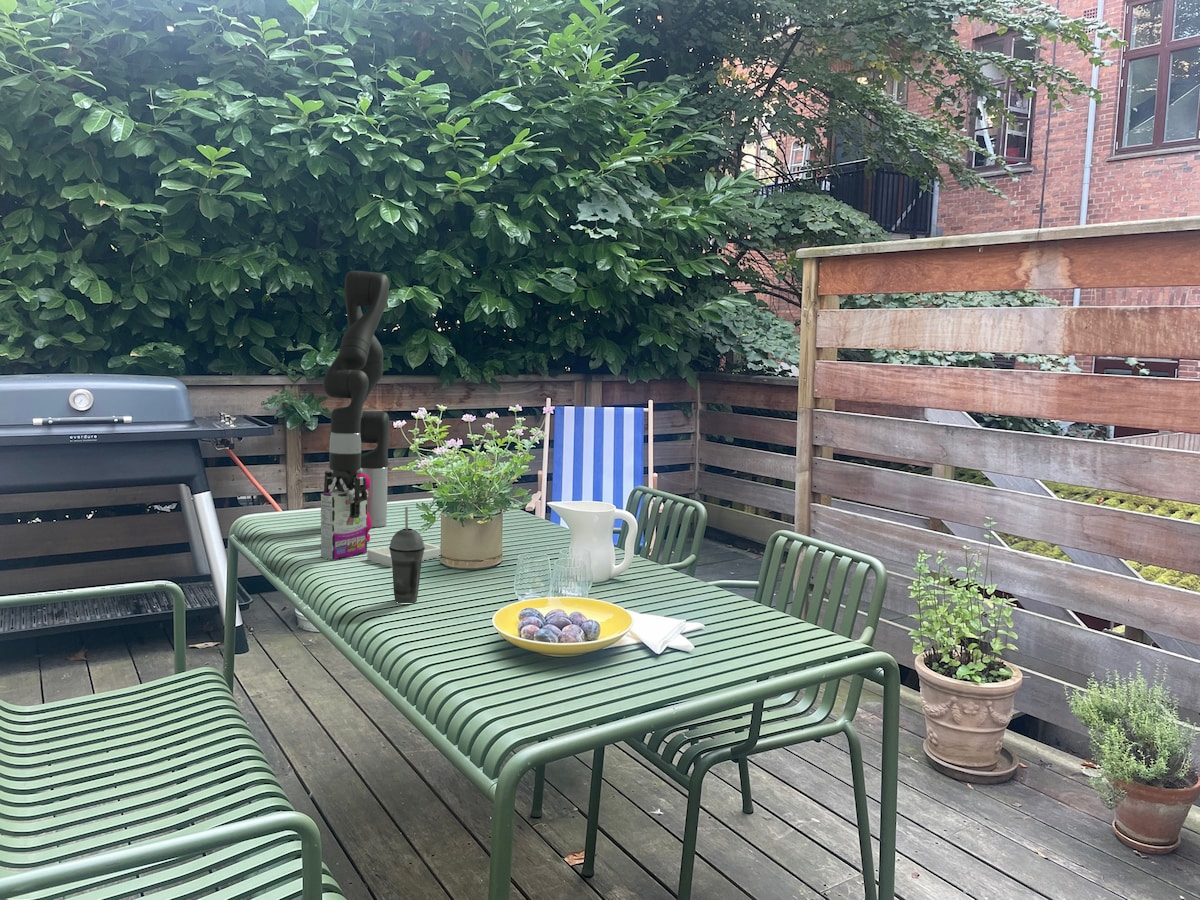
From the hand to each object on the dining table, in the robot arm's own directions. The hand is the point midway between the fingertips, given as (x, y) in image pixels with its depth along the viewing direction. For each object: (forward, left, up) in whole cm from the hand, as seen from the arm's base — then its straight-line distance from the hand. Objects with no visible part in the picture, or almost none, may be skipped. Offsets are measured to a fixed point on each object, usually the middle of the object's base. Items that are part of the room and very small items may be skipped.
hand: (344, 515), depth 220 cm
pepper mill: (-11, +12, -11) cm, 19 cm away
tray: (+12, +10, -10) cm, 19 cm away
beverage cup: (+41, -13, -11) cm, 44 cm away
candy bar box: (0, 0, -11) cm, 11 cm away
